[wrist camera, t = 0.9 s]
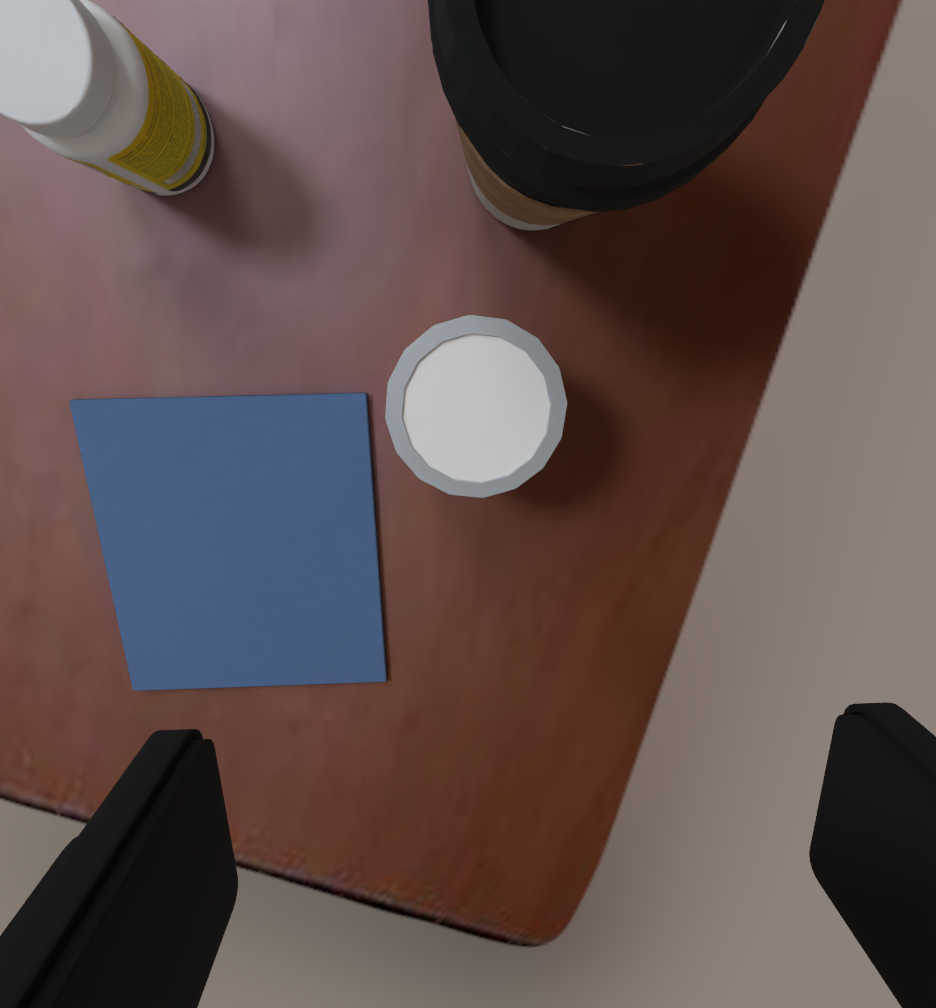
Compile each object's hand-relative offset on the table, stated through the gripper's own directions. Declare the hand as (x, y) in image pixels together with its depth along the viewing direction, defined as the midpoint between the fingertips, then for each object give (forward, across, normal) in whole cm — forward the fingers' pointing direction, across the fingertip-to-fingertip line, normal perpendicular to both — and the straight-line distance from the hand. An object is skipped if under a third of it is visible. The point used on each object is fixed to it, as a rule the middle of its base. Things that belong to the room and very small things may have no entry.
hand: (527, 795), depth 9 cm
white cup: (+22, 0, -4) cm, 22 cm away
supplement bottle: (+22, +13, -15) cm, 29 cm away
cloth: (+22, +12, +4) cm, 25 cm away
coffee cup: (+22, -3, -14) cm, 26 cm away
